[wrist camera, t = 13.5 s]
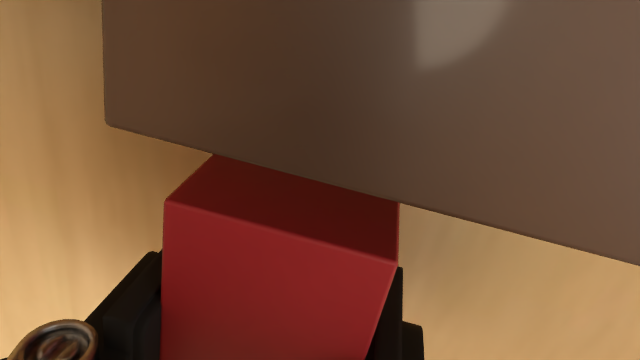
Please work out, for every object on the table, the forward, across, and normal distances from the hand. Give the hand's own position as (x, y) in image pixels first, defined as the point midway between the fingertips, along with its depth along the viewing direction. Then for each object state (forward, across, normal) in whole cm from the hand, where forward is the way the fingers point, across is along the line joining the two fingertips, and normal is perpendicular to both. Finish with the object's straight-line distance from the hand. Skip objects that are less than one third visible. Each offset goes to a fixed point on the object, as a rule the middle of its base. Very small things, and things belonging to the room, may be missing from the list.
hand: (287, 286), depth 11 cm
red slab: (0, 0, 0) cm, 0 cm away
